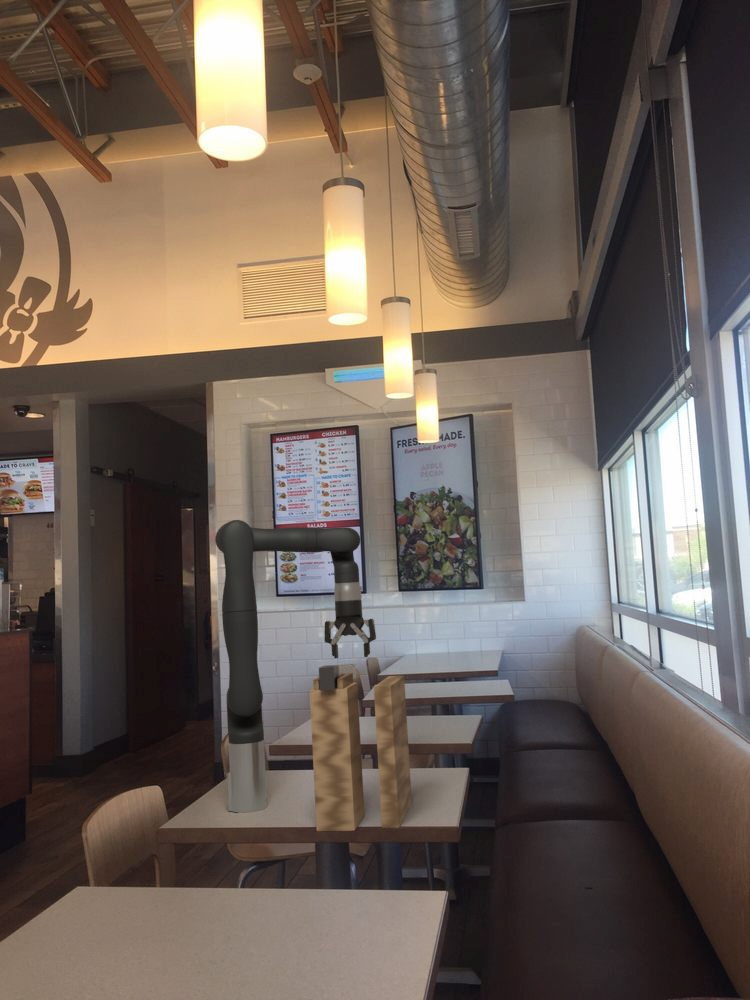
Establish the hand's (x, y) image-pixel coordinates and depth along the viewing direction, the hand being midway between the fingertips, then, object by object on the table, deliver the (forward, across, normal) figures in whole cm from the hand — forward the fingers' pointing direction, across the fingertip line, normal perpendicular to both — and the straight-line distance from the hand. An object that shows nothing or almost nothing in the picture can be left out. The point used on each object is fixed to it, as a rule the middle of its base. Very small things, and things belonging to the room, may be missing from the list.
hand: (351, 657), depth 231 cm
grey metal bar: (+4, +2, -25) cm, 25 cm away
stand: (+36, +7, -25) cm, 44 cm away
